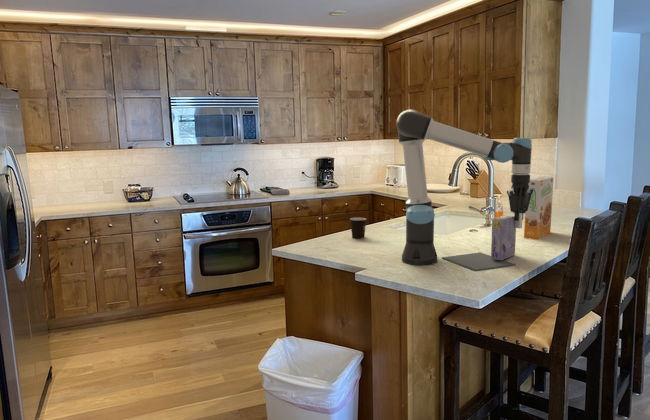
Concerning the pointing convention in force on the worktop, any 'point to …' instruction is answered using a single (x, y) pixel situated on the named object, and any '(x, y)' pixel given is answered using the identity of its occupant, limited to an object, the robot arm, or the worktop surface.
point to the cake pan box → (503, 238)
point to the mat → (477, 261)
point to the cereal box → (539, 208)
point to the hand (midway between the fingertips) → (518, 227)
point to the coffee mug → (358, 227)
